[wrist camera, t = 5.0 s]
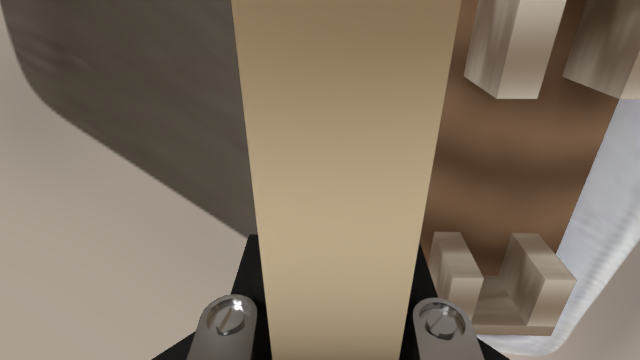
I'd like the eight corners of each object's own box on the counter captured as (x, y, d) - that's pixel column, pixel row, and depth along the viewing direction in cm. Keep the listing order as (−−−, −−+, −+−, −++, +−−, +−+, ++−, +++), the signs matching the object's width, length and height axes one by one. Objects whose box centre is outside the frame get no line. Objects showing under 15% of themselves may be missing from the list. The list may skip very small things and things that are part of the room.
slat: (285, -91, 8) (207, -211, 3) (390, -92, 8) (499, -217, 3) (305, 374, 17) (294, 547, 12) (354, 375, 17) (365, 550, 12)
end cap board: (444, -57, 20) (487, -73, 14) (665, -59, 19) (795, -75, 14) (397, 285, 32) (410, 345, 27) (530, 287, 32) (571, 350, 26)
